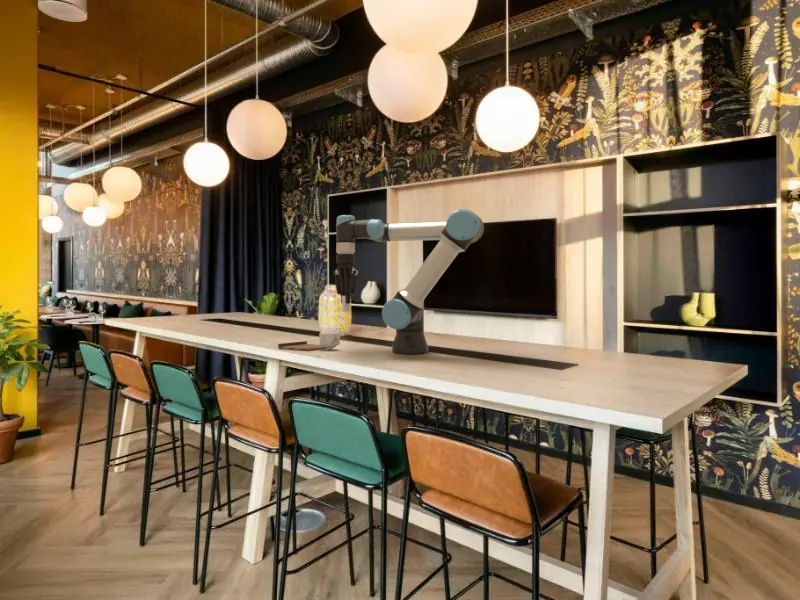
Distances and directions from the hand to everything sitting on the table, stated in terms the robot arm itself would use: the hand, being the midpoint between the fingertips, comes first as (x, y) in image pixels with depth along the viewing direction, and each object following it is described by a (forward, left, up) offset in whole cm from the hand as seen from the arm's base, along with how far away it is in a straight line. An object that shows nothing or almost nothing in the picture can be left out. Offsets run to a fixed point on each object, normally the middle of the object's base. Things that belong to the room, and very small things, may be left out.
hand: (345, 311), depth 221 cm
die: (+9, 0, -17) cm, 19 cm away
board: (+23, 0, -16) cm, 28 cm away
